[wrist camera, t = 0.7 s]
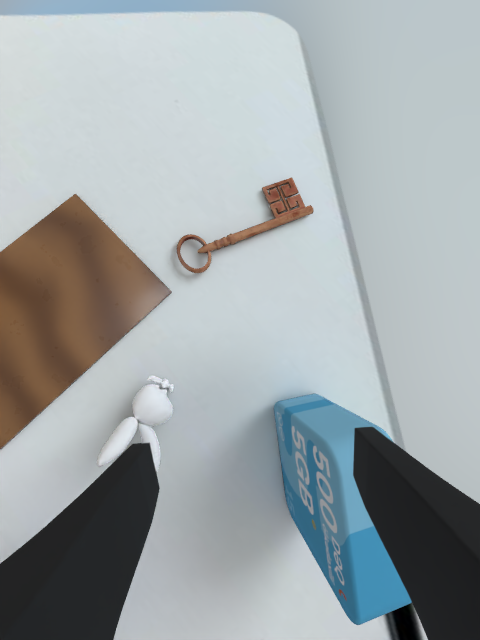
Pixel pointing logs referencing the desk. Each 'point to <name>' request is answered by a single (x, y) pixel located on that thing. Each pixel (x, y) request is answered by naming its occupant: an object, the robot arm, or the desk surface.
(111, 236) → the brown wooden board
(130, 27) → the desk surface
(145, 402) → the rabbit figurine
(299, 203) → the key
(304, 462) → the data package
